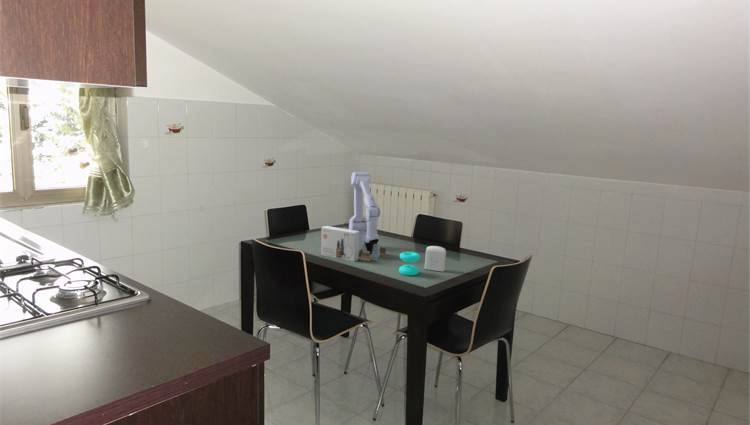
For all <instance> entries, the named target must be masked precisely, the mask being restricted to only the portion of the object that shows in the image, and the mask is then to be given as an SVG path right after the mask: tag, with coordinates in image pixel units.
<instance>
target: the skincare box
mask: <svg viewBox="0 0 750 425" xmlns="http://www.w3.org/2000/svg"><path fill="white" fill-rule="evenodd" d="M320 229H321V230H320V231H321V232H320V233H321V238H320V240H321V242H320V243H321V244H320V246H321V247H320V252H321V253H320V255H321V256H324V257H327V258H333V259H339V260H345V261H348V262H357V261H358V260H359V257H360V256H359V231H355V230H349V228H342V227H335V226H329V225H325V226H321V228H320Z"/></svg>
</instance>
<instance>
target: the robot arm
mask: <svg viewBox="0 0 750 425" xmlns="http://www.w3.org/2000/svg"><path fill="white" fill-rule="evenodd" d="M370 183H371V173H370V172H369V171H367V172H361V171H358V172H357V171H356V172H355V171H353V172H352V173H351V177H350V184H351V187H352V188H353V211H354V212H353V213H354V214H353V216H352V217H350V218H349V222H348V229H349V230H355V231H359V249H360V248H362V247H363V243H365V245H366V249H367V251H370V253H369V254H372V249H373V245H374V244H378V243H379V242H380V237H379V234H378V224H379V223H378V222H379V217H380V214H381V210H380V207H379V206H378V204H376V203H377V202H376V200H375V197H374V195H373V194H372V192H371V186H370ZM363 202H364V204H365V216H363V214H364V213H363V212H364V210H363Z"/></svg>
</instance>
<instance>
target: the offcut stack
mask: <svg viewBox="0 0 750 425" xmlns="http://www.w3.org/2000/svg"><path fill="white" fill-rule="evenodd" d="M369 253H370V251H365V252H362V253H361V255H360V260H362V261H371V260H372V257H371V255H369Z"/></svg>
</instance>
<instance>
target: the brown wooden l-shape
mask: <svg viewBox="0 0 750 425" xmlns="http://www.w3.org/2000/svg"><path fill="white" fill-rule="evenodd" d="M362 249H363V247H362V248H360V249H359V257H361V253H362ZM380 255H381V256H386V255H387V247H384V246H380Z"/></svg>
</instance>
